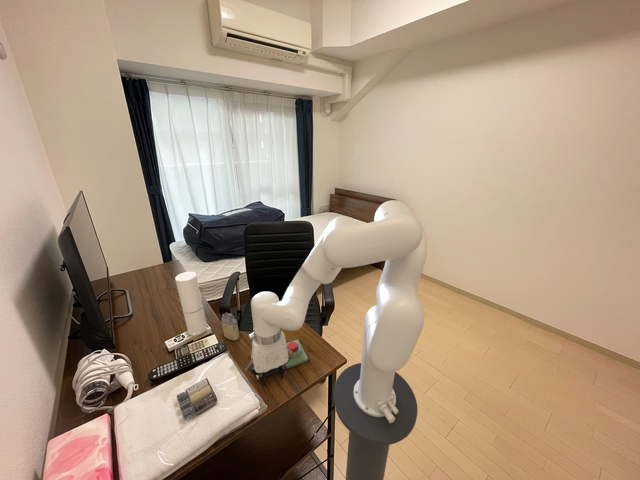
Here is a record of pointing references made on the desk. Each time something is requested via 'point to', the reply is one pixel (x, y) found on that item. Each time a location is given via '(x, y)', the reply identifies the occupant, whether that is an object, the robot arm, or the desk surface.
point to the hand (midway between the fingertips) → (272, 378)
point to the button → (292, 346)
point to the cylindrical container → (191, 302)
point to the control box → (297, 356)
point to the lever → (271, 372)
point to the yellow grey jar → (230, 327)
